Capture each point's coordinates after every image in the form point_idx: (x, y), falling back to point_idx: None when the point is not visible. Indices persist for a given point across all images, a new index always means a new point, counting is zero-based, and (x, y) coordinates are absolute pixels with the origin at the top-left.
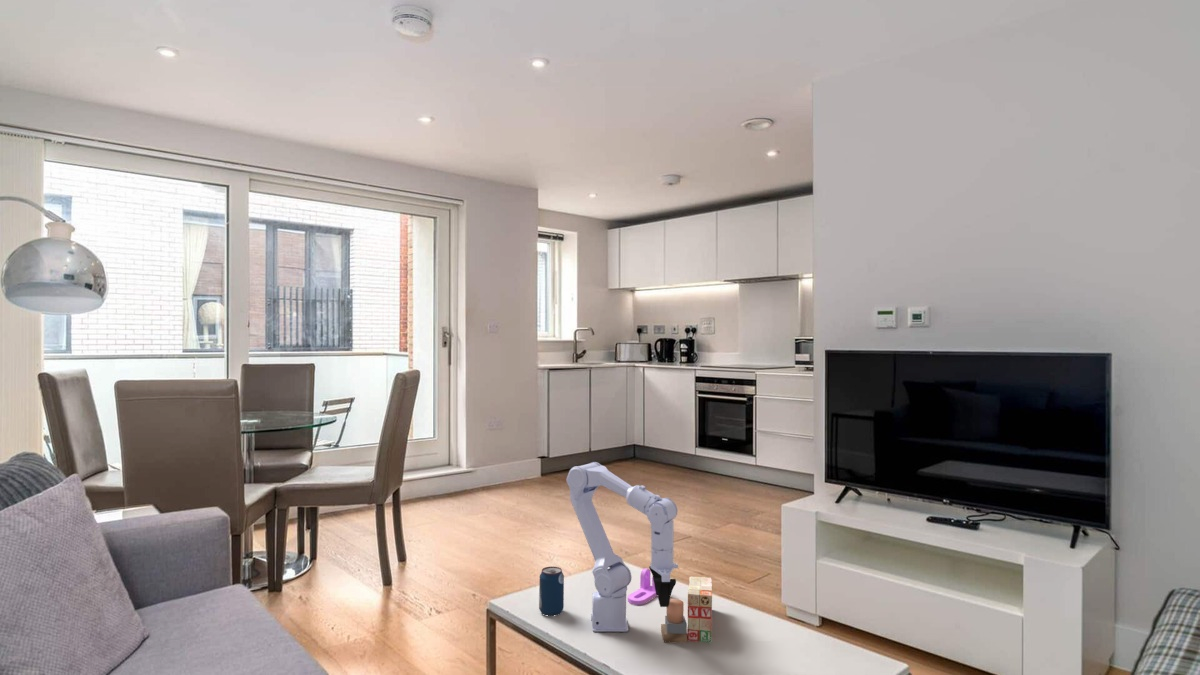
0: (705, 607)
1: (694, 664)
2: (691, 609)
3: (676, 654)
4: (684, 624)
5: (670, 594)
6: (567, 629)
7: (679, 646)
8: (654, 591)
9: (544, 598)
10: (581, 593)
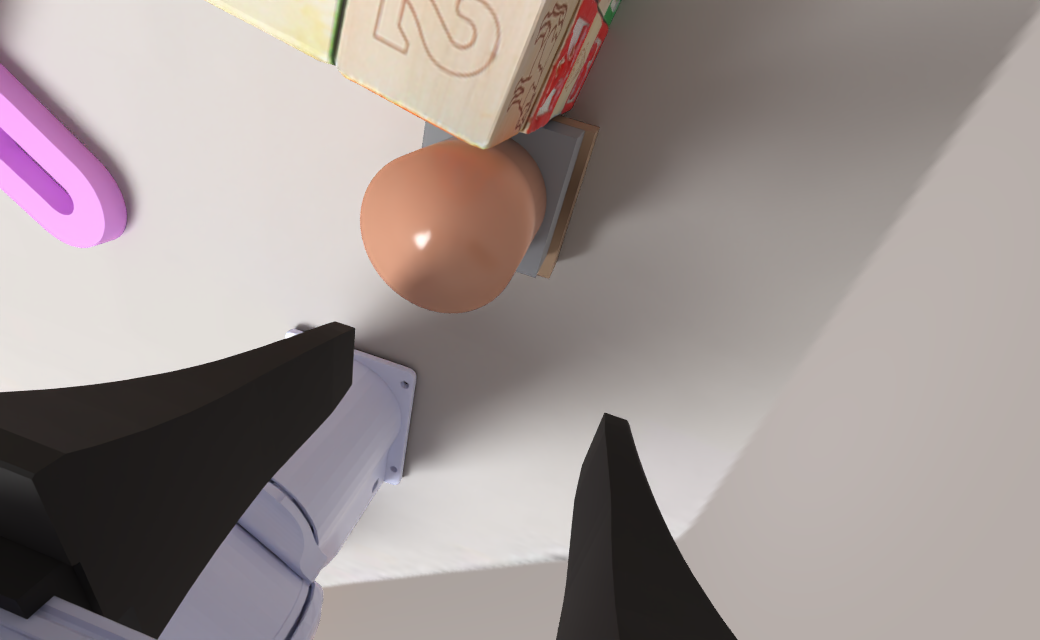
0: None
1: (888, 210)
2: (550, 92)
3: (716, 256)
4: (571, 156)
5: (666, 528)
6: (369, 531)
7: (631, 196)
8: None
9: None
10: (65, 384)
